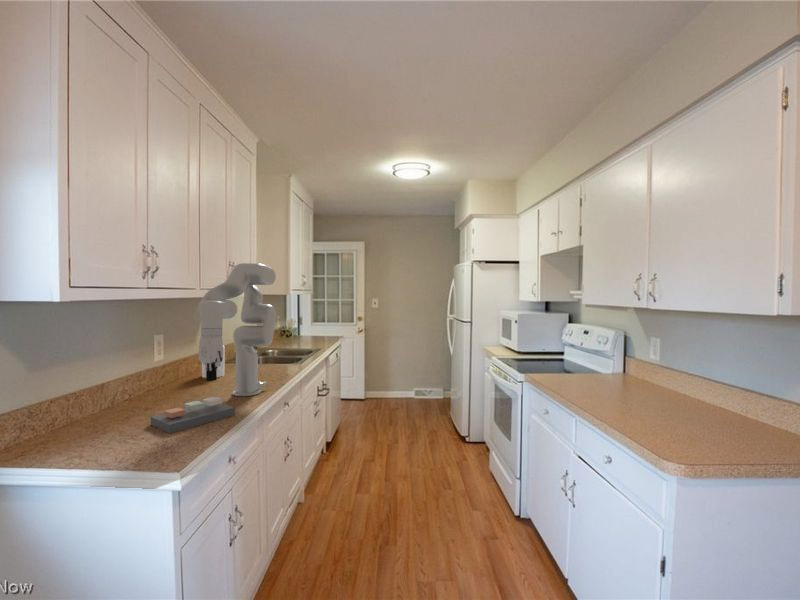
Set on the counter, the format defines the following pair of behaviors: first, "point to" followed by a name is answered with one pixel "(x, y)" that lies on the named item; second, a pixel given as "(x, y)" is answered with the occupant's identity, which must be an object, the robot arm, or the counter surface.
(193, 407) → the sage key
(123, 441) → the counter surface
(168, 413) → the terracotta key
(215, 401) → the cream key
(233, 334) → the robot arm
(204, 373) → the bottle
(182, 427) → the keypad
